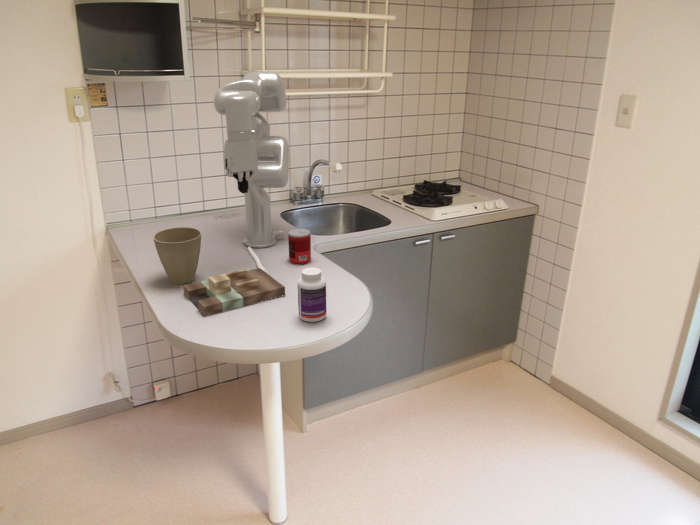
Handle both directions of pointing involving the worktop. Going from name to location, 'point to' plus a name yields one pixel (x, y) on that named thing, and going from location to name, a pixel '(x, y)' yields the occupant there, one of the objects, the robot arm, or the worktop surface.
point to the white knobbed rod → (256, 259)
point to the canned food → (299, 246)
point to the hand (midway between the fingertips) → (243, 192)
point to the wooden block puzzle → (234, 291)
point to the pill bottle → (312, 295)
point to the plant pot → (179, 252)
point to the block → (219, 284)
